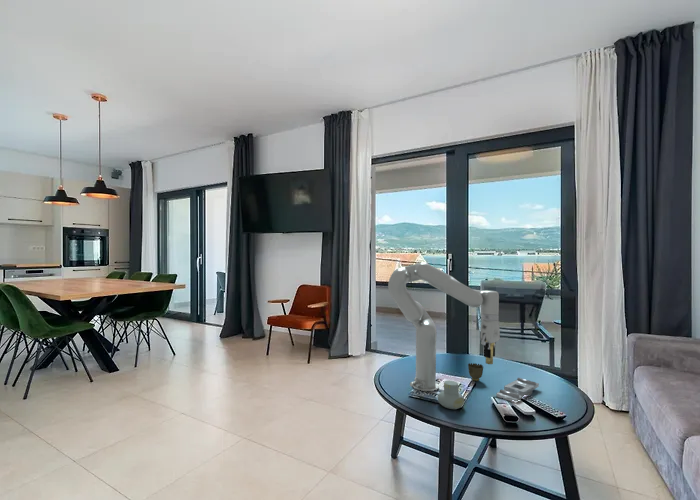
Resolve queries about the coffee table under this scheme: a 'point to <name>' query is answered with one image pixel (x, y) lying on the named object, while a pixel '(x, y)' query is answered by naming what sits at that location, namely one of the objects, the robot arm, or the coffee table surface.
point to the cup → (475, 371)
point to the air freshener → (451, 396)
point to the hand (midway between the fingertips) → (489, 356)
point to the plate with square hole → (517, 389)
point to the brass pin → (490, 360)
